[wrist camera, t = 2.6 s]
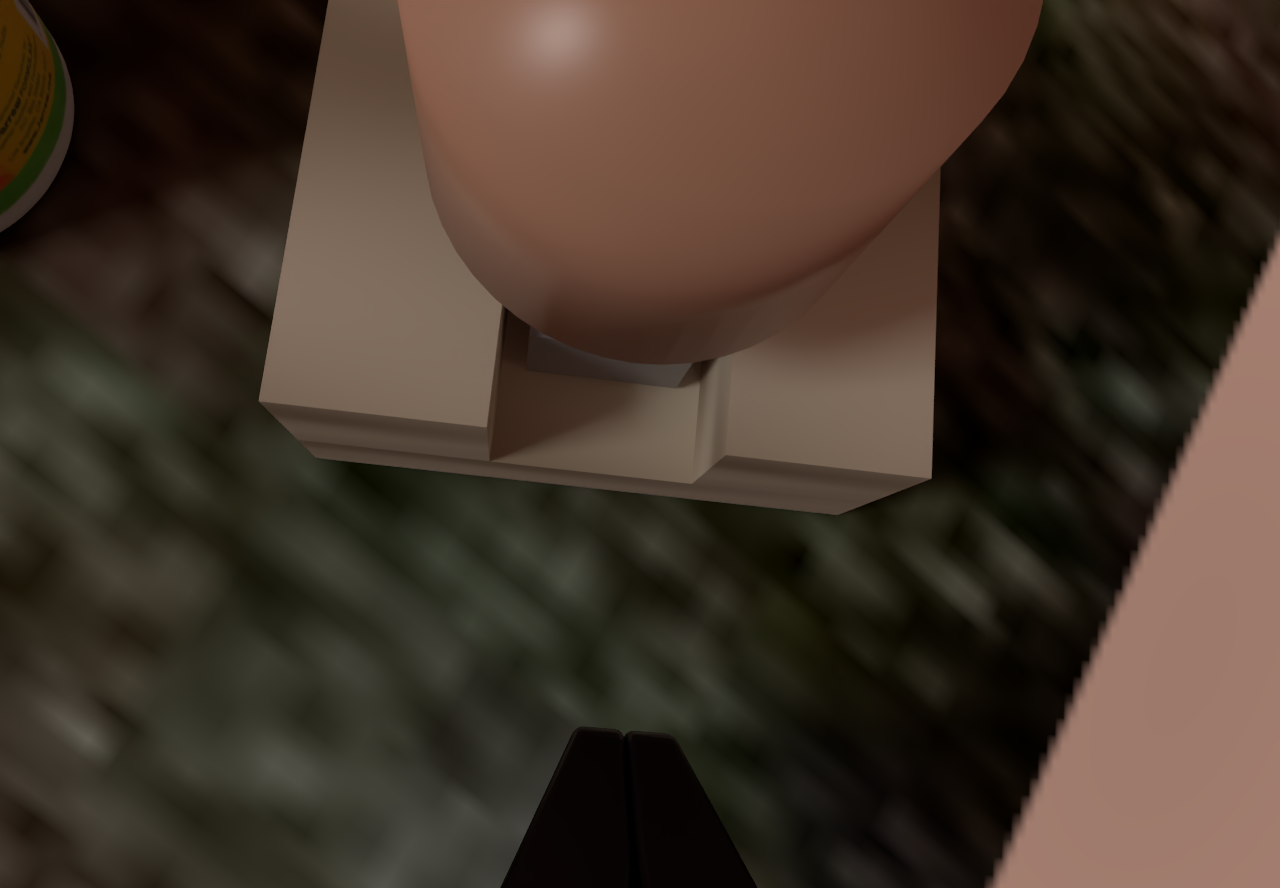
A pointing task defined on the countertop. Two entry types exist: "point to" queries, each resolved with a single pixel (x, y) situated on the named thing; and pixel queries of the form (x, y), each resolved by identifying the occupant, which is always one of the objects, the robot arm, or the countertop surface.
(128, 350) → the countertop surface
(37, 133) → the supplement bottle
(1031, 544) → the countertop surface
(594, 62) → the knob
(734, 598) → the countertop surface
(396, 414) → the knob track
